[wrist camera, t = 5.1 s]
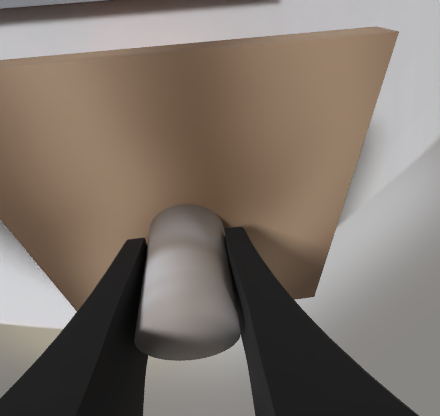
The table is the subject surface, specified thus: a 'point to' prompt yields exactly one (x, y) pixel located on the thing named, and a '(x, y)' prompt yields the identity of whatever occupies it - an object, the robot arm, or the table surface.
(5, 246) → the table surface
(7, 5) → the mat
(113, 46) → the table surface
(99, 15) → the table surface
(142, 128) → the cover board
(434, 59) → the table surface
